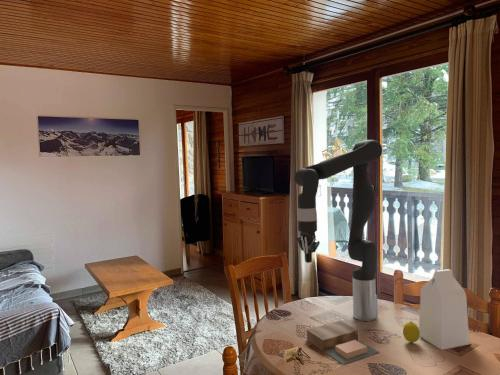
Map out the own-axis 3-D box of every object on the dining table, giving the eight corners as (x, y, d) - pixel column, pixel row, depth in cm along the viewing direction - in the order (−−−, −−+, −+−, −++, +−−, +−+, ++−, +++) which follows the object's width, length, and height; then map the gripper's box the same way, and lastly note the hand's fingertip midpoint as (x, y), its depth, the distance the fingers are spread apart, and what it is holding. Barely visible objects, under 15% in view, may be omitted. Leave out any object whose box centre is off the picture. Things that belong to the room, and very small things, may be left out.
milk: (441, 349, 133) (441, 276, 131) (418, 335, 144) (418, 268, 142) (469, 344, 136) (469, 272, 134) (444, 330, 147) (444, 264, 145)
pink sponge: (367, 346, 132) (367, 352, 132) (355, 339, 137) (355, 345, 137) (346, 353, 128) (346, 358, 128) (335, 345, 133) (335, 351, 133)
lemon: (418, 340, 140) (418, 319, 139) (420, 347, 135) (420, 325, 134) (402, 338, 142) (402, 317, 141) (403, 345, 136) (403, 323, 136)
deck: (340, 330, 150) (340, 320, 150) (358, 340, 141) (358, 330, 141) (307, 340, 143) (306, 329, 143) (323, 351, 134) (323, 340, 134)
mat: (359, 341, 141) (359, 340, 141) (379, 352, 132) (379, 351, 132) (324, 351, 134) (324, 350, 134) (342, 364, 125) (342, 363, 125)
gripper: (325, 220, 147) (326, 264, 148) (305, 216, 158) (306, 257, 159) (309, 222, 143) (310, 267, 144) (290, 218, 155) (291, 260, 156)
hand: (308, 262), depth 152 cm, fingers closed
